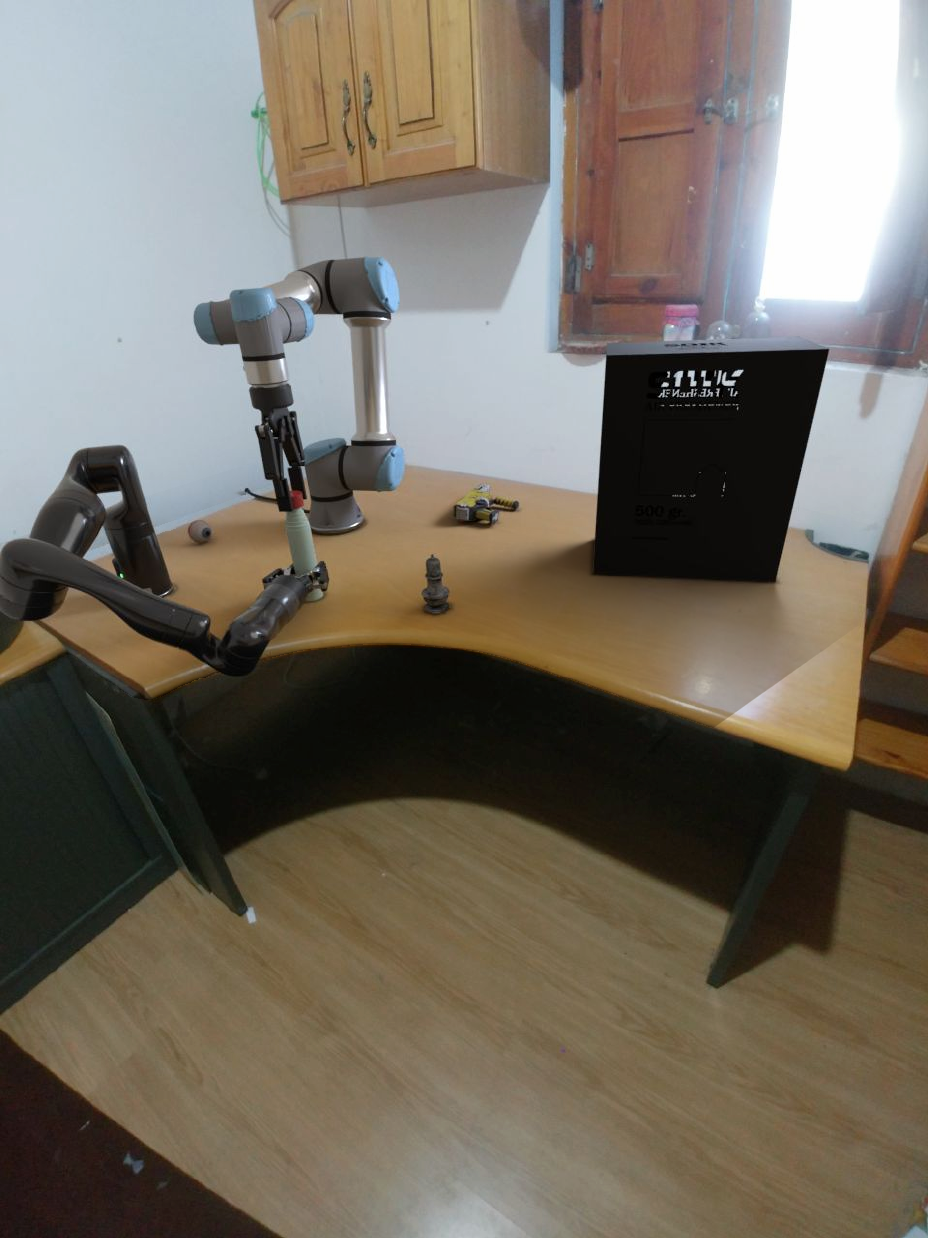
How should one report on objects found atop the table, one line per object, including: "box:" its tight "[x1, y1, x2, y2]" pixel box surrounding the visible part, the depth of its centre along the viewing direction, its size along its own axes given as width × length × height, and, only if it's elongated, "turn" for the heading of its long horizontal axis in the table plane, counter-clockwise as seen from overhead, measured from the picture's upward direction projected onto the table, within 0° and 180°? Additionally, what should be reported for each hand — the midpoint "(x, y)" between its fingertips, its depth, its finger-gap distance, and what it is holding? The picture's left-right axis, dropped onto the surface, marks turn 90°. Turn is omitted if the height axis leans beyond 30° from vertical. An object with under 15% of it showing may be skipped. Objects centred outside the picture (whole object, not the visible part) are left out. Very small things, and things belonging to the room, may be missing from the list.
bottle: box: [284, 507, 324, 603], centre depth 127 cm, size 5×5×23 cm
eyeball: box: [187, 519, 213, 544], centre depth 162 cm, size 6×6×6 cm
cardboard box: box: [592, 336, 830, 583], centre depth 128 cm, size 38×20×45 cm, turn 78°
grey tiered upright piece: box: [420, 553, 451, 614], centre depth 122 cm, size 6×6×12 cm
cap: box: [290, 490, 305, 509], centre depth 121 cm, size 4×4×3 cm
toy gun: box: [452, 482, 520, 526], centre depth 172 cm, size 5×24×15 cm
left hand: (311, 564), depth 131 cm, fingers closed on bottle, 5 cm apart
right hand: (293, 504), depth 122 cm, fingers open, 6 cm apart
